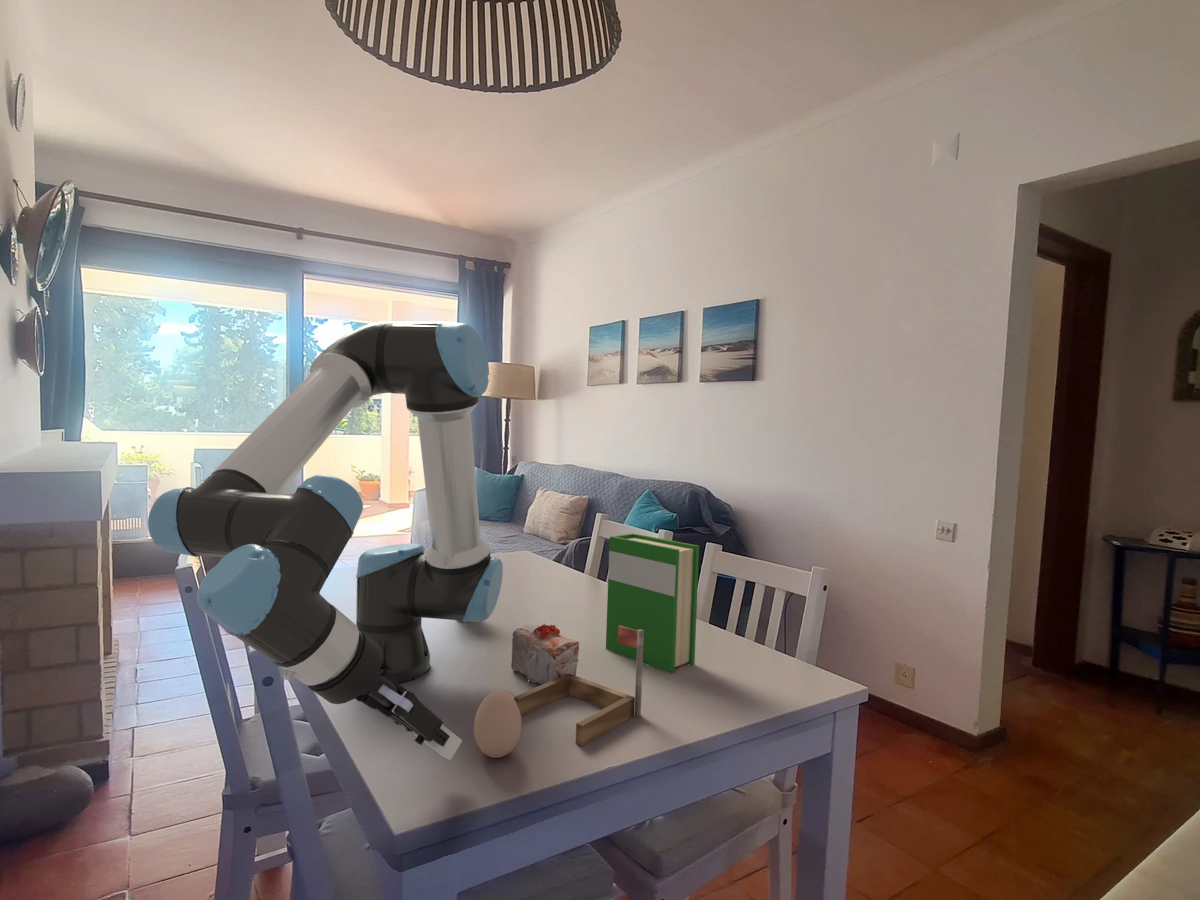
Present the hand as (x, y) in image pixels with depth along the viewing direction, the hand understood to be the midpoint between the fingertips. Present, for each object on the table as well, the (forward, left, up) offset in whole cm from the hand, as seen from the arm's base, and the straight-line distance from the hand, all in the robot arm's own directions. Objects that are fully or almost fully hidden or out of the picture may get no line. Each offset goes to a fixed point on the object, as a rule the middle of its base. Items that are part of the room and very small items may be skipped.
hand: (452, 748), depth 80 cm
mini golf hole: (0, +25, -4) cm, 25 cm away
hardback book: (-6, +55, -4) cm, 55 cm away
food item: (-14, +32, -4) cm, 35 cm away
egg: (0, +8, -4) cm, 9 cm away
